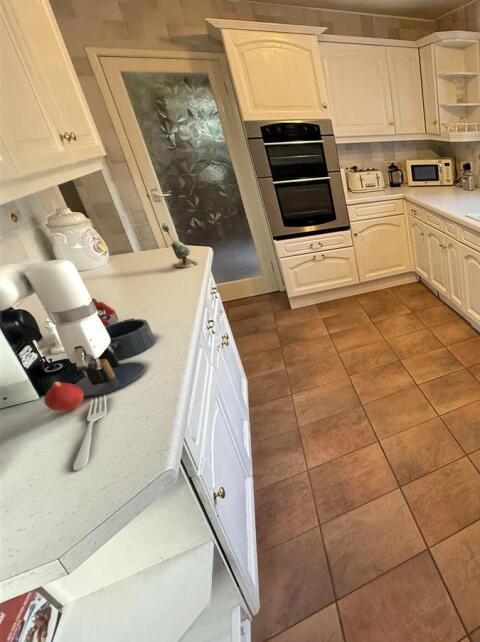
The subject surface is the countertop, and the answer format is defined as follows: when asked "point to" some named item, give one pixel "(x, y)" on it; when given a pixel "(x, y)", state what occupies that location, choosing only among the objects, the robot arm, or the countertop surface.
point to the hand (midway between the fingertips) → (106, 374)
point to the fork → (88, 435)
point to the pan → (130, 337)
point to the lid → (112, 378)
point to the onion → (63, 397)
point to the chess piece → (58, 346)
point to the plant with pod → (180, 251)
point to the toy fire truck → (109, 314)
